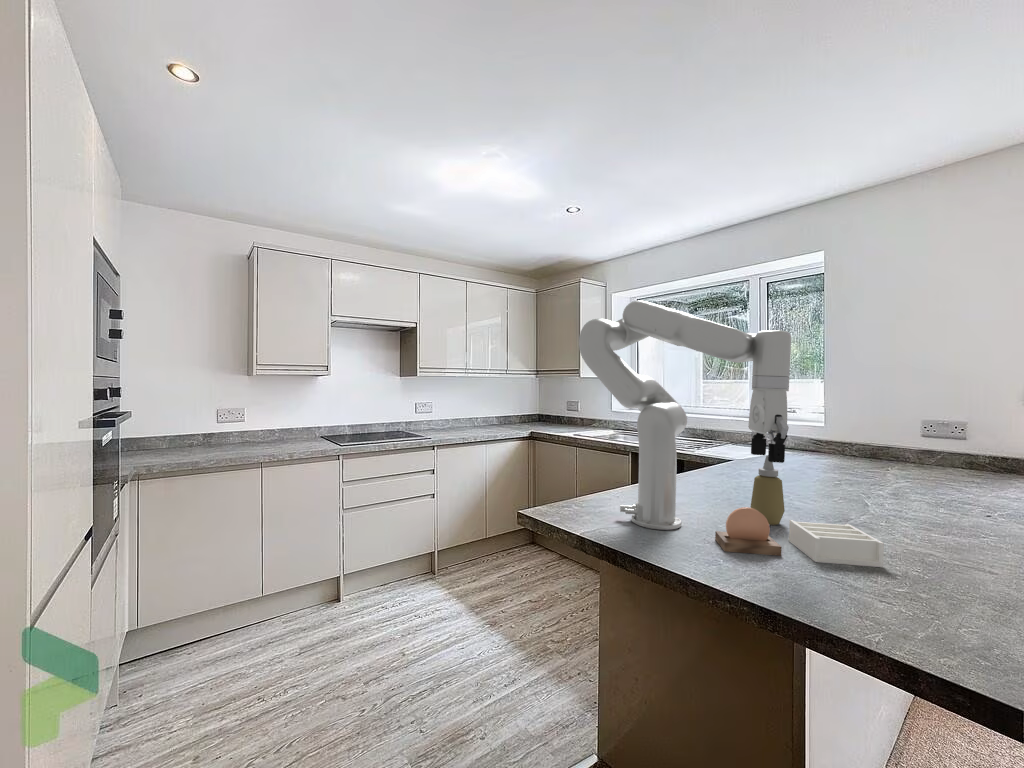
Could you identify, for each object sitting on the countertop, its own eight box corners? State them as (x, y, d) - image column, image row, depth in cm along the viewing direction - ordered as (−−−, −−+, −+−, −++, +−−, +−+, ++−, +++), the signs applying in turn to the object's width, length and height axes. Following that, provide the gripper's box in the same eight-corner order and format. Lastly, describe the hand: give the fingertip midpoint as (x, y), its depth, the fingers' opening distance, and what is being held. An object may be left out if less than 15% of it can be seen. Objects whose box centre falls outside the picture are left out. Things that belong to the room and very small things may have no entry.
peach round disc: (769, 550, 104) (770, 510, 104) (726, 546, 105) (727, 507, 105) (767, 548, 105) (768, 508, 105) (725, 544, 106) (726, 505, 106)
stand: (724, 551, 102) (724, 542, 102) (715, 539, 110) (715, 531, 110) (781, 555, 100) (781, 546, 100) (767, 543, 108) (767, 534, 108)
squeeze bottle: (775, 518, 128) (777, 454, 128) (790, 527, 120) (792, 458, 120) (745, 517, 129) (747, 453, 129) (757, 526, 121) (759, 457, 121)
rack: (815, 561, 97) (815, 538, 97) (788, 540, 110) (789, 520, 110) (883, 567, 95) (883, 543, 95) (848, 545, 108) (848, 524, 108)
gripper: (739, 383, 115) (736, 451, 116) (768, 384, 98) (765, 464, 99) (771, 384, 114) (768, 453, 115) (806, 385, 97) (802, 466, 98)
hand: (766, 458), depth 107 cm, fingers open, 9 cm apart
